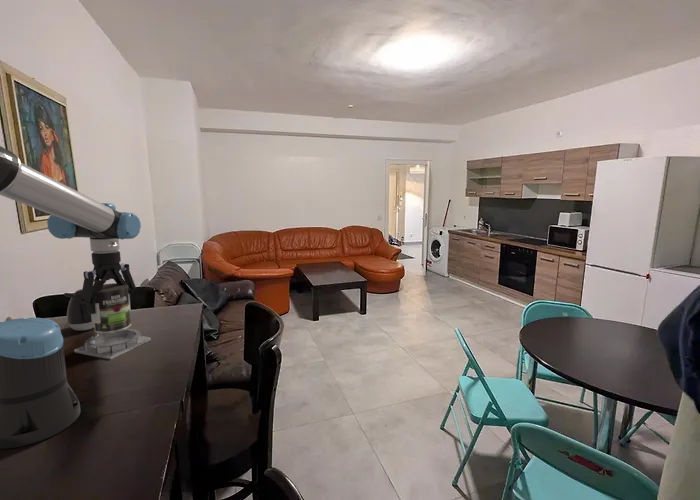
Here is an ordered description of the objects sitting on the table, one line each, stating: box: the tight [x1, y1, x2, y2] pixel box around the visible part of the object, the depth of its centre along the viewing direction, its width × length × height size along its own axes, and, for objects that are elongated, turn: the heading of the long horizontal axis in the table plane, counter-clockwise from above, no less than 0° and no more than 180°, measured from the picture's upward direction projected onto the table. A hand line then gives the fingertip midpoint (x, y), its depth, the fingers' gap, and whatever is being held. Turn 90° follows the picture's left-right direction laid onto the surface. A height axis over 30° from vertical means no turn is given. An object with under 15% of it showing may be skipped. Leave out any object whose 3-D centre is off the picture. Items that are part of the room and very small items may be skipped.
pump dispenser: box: [63, 288, 94, 332], centre depth 127 cm, size 10×10×15 cm
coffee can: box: [93, 282, 132, 334], centre depth 112 cm, size 10×10×14 cm
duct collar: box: [74, 328, 152, 360], centre depth 114 cm, size 15×15×3 cm
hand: (112, 316), depth 112 cm, fingers closed on coffee can, 10 cm apart
